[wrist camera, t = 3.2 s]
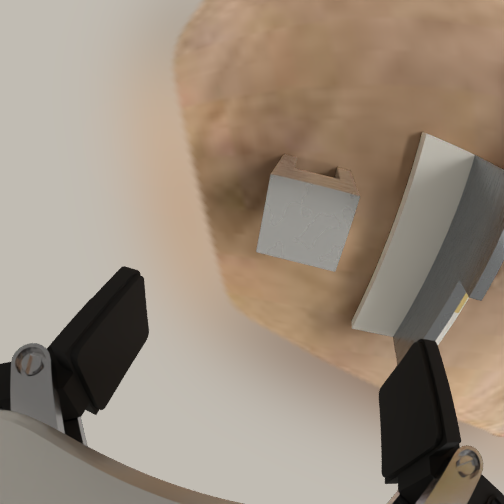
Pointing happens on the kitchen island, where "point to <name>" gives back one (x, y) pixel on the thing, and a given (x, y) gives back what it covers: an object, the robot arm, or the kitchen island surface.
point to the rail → (460, 258)
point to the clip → (307, 215)
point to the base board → (416, 237)
